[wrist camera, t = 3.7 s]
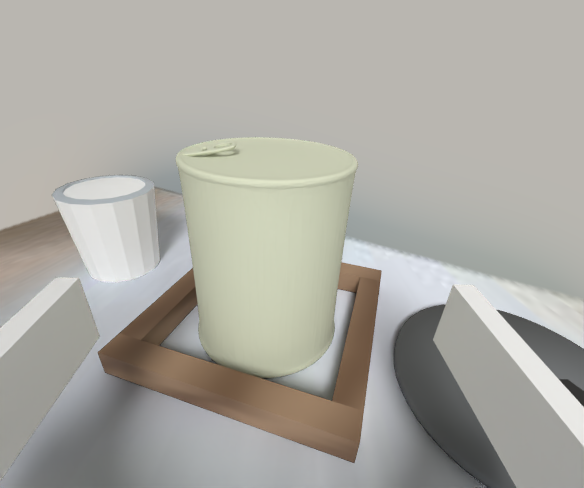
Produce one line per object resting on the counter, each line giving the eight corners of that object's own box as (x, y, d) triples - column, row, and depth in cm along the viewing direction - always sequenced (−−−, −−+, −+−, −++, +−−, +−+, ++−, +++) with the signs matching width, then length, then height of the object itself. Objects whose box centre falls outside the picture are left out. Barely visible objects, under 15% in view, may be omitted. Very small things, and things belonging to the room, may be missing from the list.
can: (205, 285, 25) (187, 127, 19) (317, 279, 26) (332, 130, 20) (189, 387, 17) (150, 169, 11) (352, 371, 18) (393, 169, 12)
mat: (389, 463, 14) (391, 456, 14) (396, 294, 25) (398, 288, 25) (776, 600, 11) (790, 594, 10) (589, 336, 22) (593, 330, 21)
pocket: (105, 372, 17) (97, 352, 17) (226, 253, 29) (225, 238, 28) (354, 463, 14) (359, 442, 13) (377, 286, 26) (381, 270, 25)
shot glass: (96, 246, 29) (74, 173, 26) (172, 242, 31) (161, 172, 27) (64, 290, 23) (30, 204, 20) (160, 283, 25) (143, 201, 21)
